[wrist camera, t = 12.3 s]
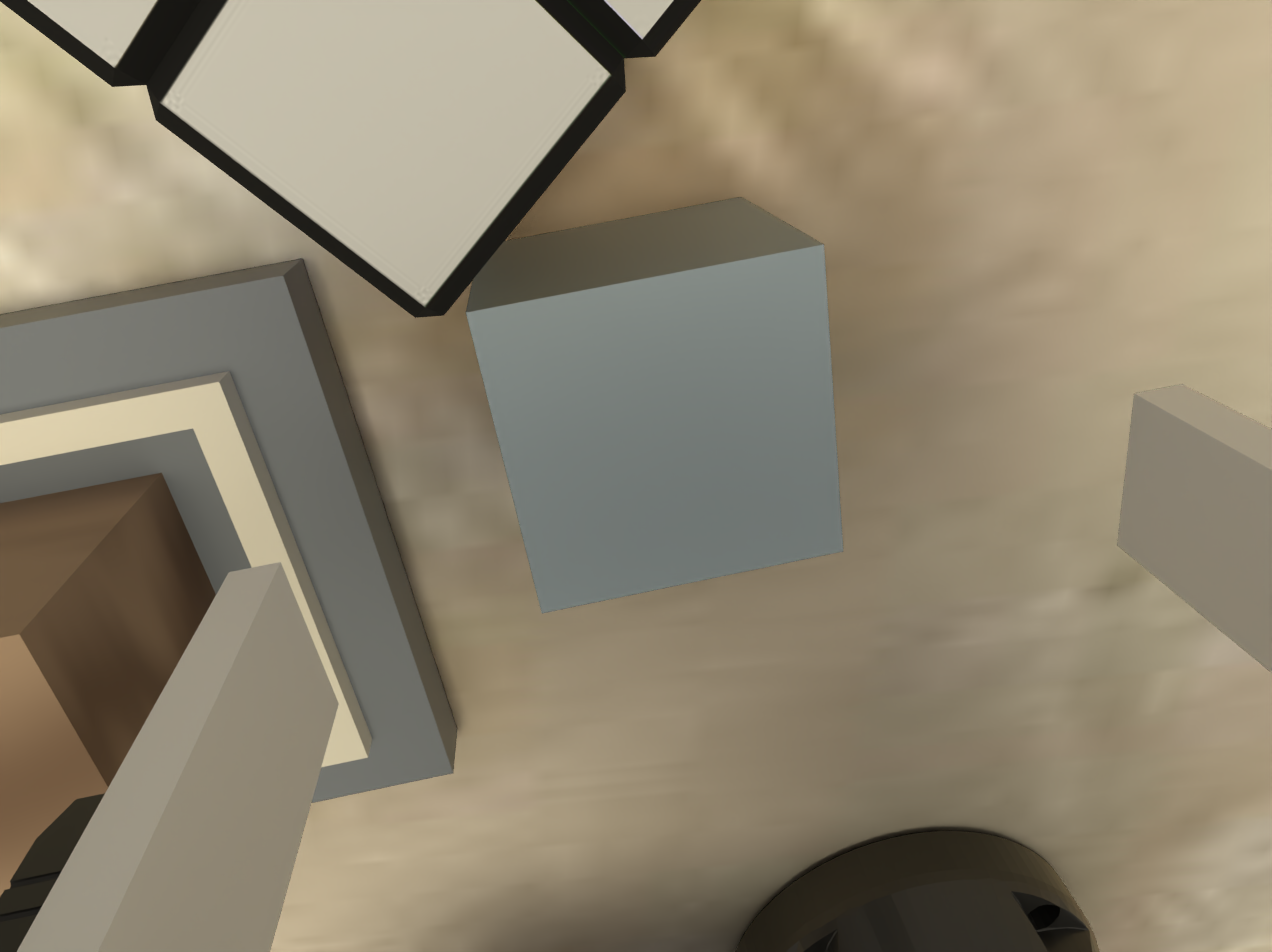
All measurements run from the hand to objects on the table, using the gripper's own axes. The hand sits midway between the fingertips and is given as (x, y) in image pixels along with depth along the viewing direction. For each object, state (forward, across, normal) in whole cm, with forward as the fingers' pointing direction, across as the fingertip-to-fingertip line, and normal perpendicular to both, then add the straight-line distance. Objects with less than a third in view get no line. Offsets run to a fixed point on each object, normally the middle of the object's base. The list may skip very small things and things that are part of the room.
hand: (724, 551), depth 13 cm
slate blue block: (+12, 0, 0) cm, 12 cm away
